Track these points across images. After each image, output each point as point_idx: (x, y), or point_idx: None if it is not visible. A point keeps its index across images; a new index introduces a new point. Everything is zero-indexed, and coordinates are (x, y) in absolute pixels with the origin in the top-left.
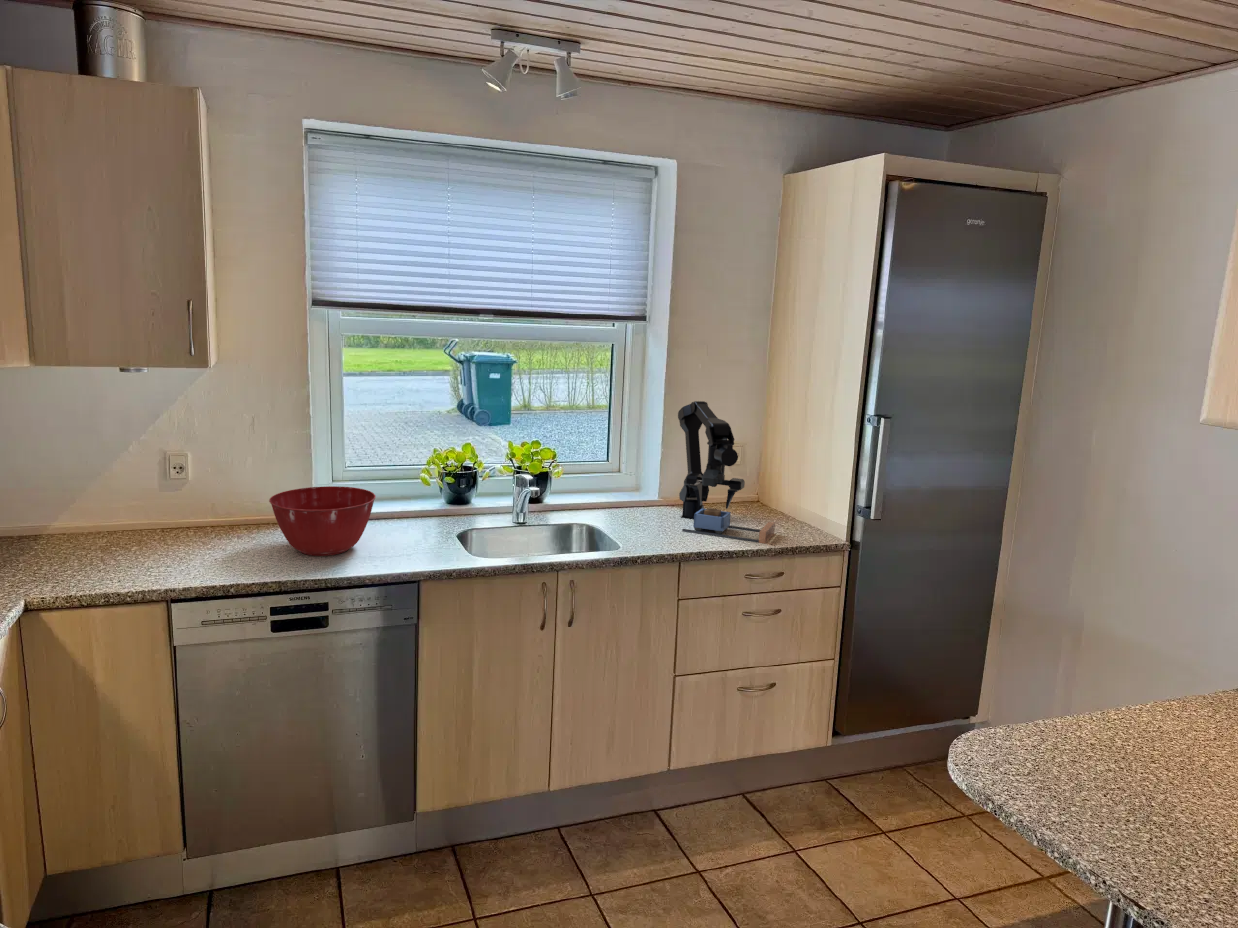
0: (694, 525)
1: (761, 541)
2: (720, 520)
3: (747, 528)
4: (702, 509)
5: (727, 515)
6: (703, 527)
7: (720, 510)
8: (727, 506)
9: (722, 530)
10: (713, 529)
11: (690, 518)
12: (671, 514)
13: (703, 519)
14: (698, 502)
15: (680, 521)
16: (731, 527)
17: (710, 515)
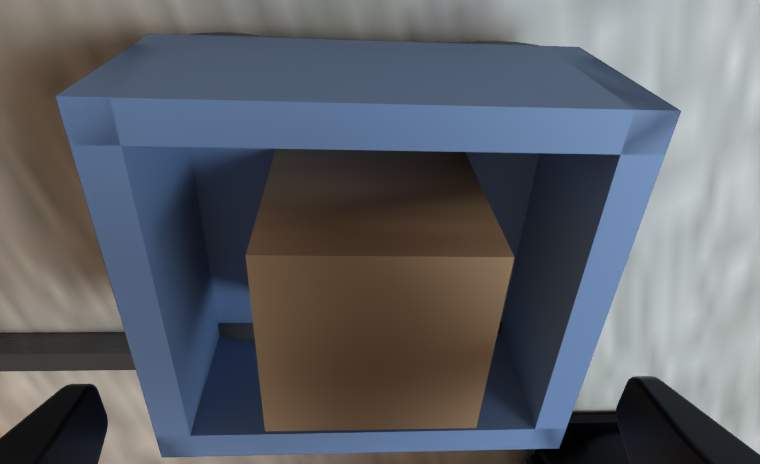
0: (574, 54)
1: None
2: (146, 79)
3: (42, 352)
4: (547, 412)
5: (125, 320)
6: (439, 45)
7: (262, 402)
8: (23, 420)
9: (152, 37)
10: (290, 41)
11: (607, 419)
12: None
13: (470, 80)
14: (697, 412)
15: (688, 340)
16: None
17: (379, 215)
